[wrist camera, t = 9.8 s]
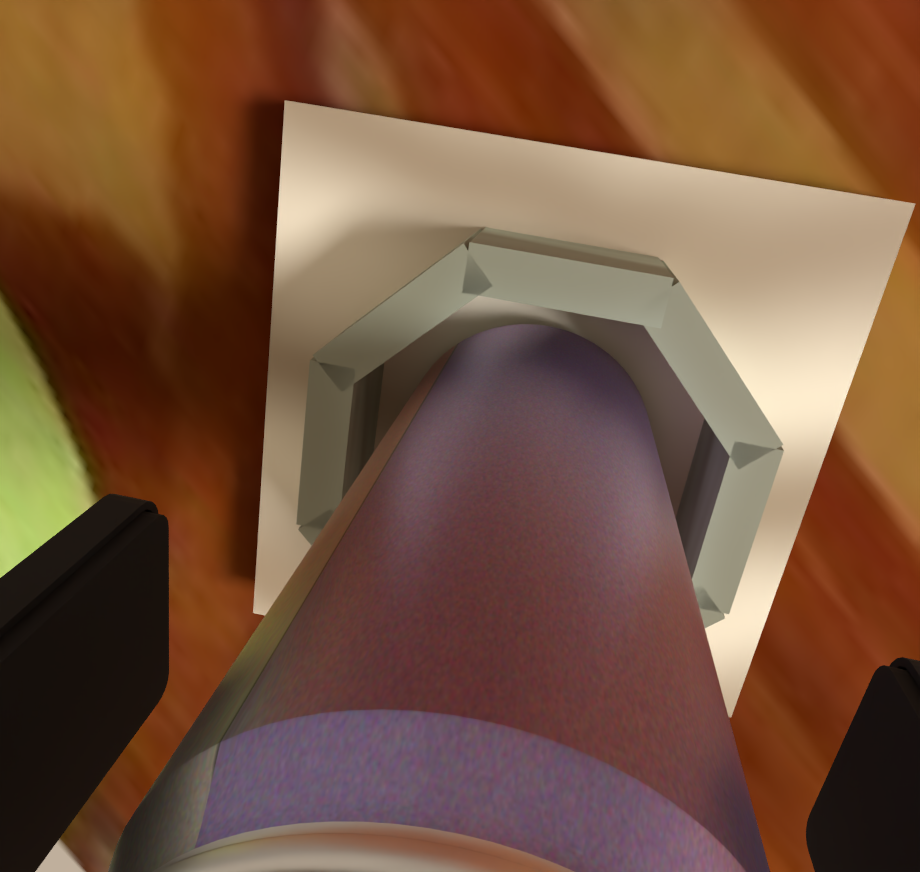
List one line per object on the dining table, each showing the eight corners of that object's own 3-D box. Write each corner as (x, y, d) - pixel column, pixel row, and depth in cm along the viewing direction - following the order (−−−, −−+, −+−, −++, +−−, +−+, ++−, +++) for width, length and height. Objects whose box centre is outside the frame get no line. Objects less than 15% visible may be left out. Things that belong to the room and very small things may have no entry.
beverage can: (569, 270, 18) (549, 701, 4) (691, 474, 19) (995, 1337, 5) (367, 394, 20) (-138, 991, 6) (491, 573, 21) (323, 1411, 7)
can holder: (306, 104, 19) (229, 91, 15) (888, 199, 18) (985, 215, 14) (271, 585, 24) (207, 678, 20) (721, 682, 23) (753, 801, 19)
